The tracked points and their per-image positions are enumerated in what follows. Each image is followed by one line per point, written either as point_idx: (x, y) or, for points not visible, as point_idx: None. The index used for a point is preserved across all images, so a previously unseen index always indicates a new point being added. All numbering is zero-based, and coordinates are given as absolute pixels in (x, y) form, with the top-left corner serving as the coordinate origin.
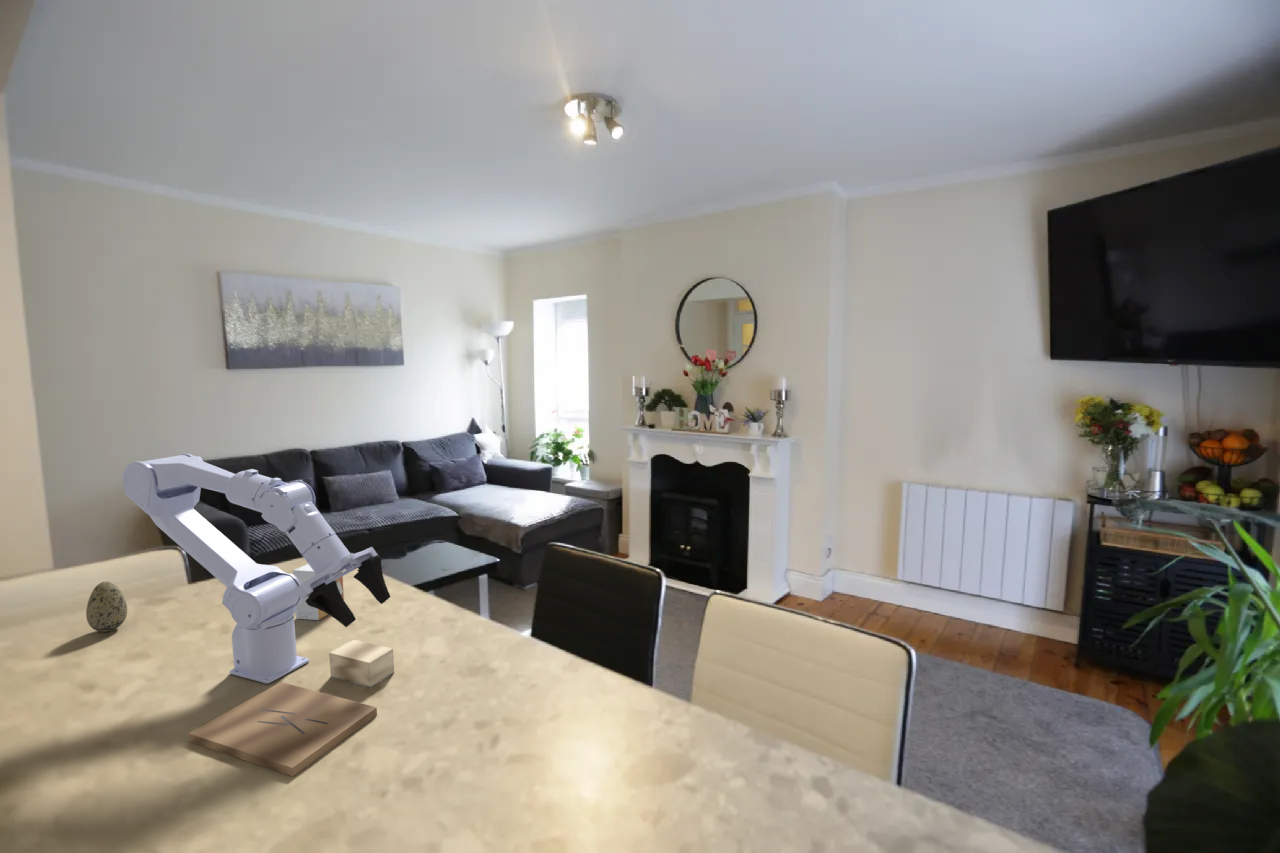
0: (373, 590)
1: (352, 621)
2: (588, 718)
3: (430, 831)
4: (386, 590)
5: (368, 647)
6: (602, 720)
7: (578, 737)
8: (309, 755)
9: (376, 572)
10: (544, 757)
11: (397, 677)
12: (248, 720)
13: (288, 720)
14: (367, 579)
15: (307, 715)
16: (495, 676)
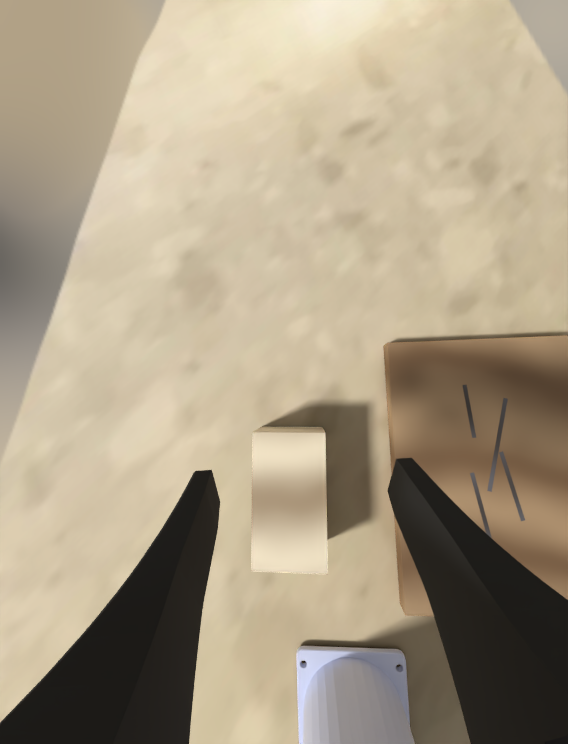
0: (202, 572)
1: (412, 458)
2: (254, 43)
3: (540, 85)
4: (190, 495)
5: (269, 496)
6: (251, 24)
7: (300, 32)
8: (542, 336)
9: (148, 620)
10: (358, 47)
11: (273, 406)
12: (529, 542)
13: (492, 464)
14: (182, 657)
15: (464, 443)
16: (203, 240)
